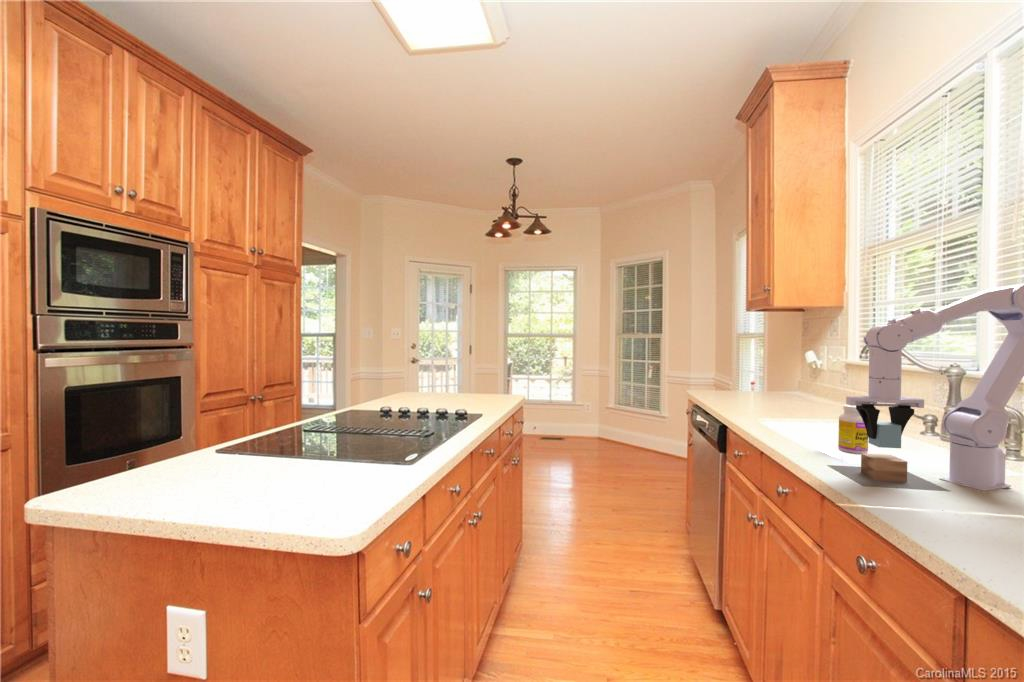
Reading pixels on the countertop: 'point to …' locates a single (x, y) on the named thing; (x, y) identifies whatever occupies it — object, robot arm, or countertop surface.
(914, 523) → the countertop surface
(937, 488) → the mat
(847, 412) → the supplement bottle
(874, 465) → the slab top
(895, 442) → the blue block
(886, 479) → the slab bottom
